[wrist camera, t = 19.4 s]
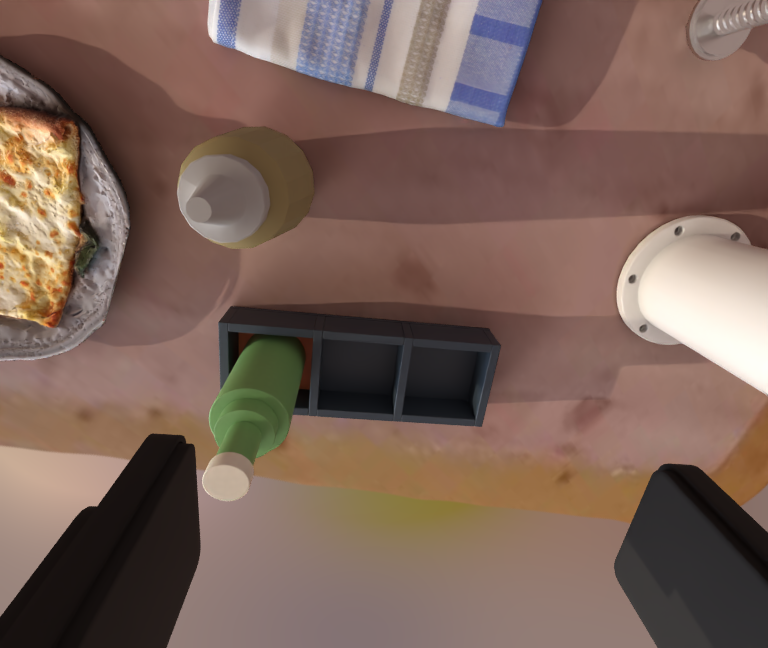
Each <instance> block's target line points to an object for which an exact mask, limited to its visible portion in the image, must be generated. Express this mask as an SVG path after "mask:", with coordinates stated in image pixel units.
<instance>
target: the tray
mask: <svg viewBox="0 0 768 648" xmlns="http://www.w3.org/2000/svg"><path fill="white" fill-rule="evenodd" d="M218 325H219V360H220V391H221V389H222V387H223V385H224V384H225V382H226V380H227V378H228V376H229V374H230V373H231V371H232V369H233V367H234V365H235V364H236V362H237V360H238V358H239V356H240V355H241V353H242V351H243V349H244V347H245V346H246V344H247V342H248V340H249V339H250V338H251V337H252V336H253V335H254V334H266V335H279V336H291V337H297V338H298V339H299V341H300V342H301V343H302V345H303V347H304V350H305V354H306V360H305V365H304V369H303V373H302V378H301V382H300V386H299V390H298V394H297V398H296V403H295V407H294V411H293V415H309V416H320V417H336V418H352V419H367V420H383V421H399V422H415V423H431V424H447V425H462V426H479V427H482V424H483V420H484V415H485V411H486V407H487V403H488V398H489V394H490V390H491V386H492V381H493V377H494V373H495V369H496V365H497V360H498V356H499V352H500V348H501V345H500V344H499V342H498V341H497V339H496V338H495V337H494V335H493V334H492V332H491V331H490V329H488V328H477V327H465V326H454V325H442V324H430V323H419V322H407V321H396V320H384V319H372V318H361V317H349V316H338V315H326V314H314V313H303V312H291V311H280V310H268V309H256V308H245V307H233V306H231V307H230V308H229V309H228V311H227V312H226V313H225V315H224V316H223V317H222V318H221V320H220V321H219V322H218Z"/></svg>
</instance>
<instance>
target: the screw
mask: <svg viewBox="0 0 768 648" xmlns="http://www.w3.org/2000/svg"><path fill="white" fill-rule="evenodd" d="M763 24H768V0H699V1H698V2H697V3H696V5H695V6H694V8H693V10H692V12H691V14H690V17H689V20H688V24H687V25H686V34H687V42H688V46H689V48H690V50H691V51H692V53H693V54H694V55H695V56H696V57H698V58H700V59H702V60H705V61H715V60H720V59H723V58H726V57H727V56H729V55H731V54H732V53H734V52H735V51H736V50H737V49H738V48H739V47H740V46H741V45H742V44H743V43H744V41H745V40H746V38H747V36H748V35H749V33H750V30H751V28H754V27H756V26H761V25H763Z"/></svg>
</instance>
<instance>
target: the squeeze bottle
mask: <svg viewBox="0 0 768 648" xmlns="http://www.w3.org/2000/svg"><path fill="white" fill-rule="evenodd" d="M177 188H178V190H177V196H178V201H179V206H180V211H181V212H182V214H183V215H184V217H185V219H186V220H187V222H188V224H189V225H190V226H191V227H192V228H193V229H194V230H196V231H197V232H198V233H199V234H201V235H202V236H203V237H205V238H207V239H208V240H210V241H211V242H213V243H216V244H219V245H222V246H225V247H228V248H231V249H240V248H254V247H256V246H258V245H260V244H262V243H264V242H266V241H268V240H270V239H273V238H275V237H277V236H279V235H281V234H283V233H285V232H287V231H289V230H291V229H293V228H295V227H296V226H297V225H298V224H299V223H300V222H301V220H302V219H303V218H304V217H305V216H306V215H307V213H308V212H309V209H310V206H311V203H312V199H313V196H314V181H313V171H312V169H311V167H310V165H309V163H308V161H307V159H306V156H305V154H304V152H303V151H302V150H301V149H300V148H299V147H298V146H297V145H296V144H295V143H294V142H293V141H292V140H291V139H290V138H289V137H288V136H287V135H285V134H282V133H280V132H277V131H275V130H272V129H270V128H267V127H242V128H239V129H237V130H234V131H231V132H228V133H225V134H222V135H219V136H216V137H213V138H211V139H209V140H207V141H206V142H204V143H202V144H200V145H198V146H196V147H194V148H193V150H192V151H191V152H190V154H189V155H188V156H187V158H186V159H185V160H184V162H183V163H182V165H181V170H180V175H179V179H178V184H177Z"/></svg>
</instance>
